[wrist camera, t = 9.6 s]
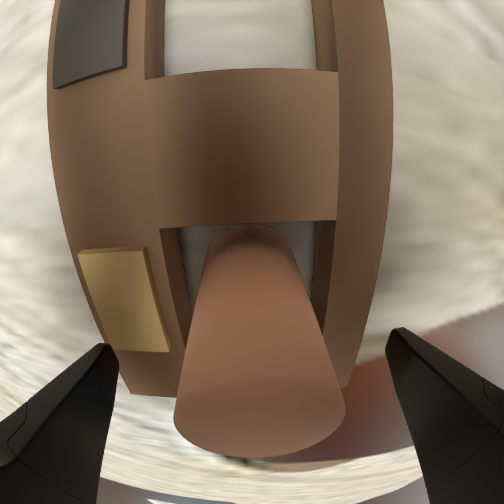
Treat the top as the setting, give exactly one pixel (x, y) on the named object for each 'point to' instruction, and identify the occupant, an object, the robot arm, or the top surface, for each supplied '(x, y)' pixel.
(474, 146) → the top surface
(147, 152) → the socket board
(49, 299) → the top surface
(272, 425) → the plug
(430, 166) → the top surface
